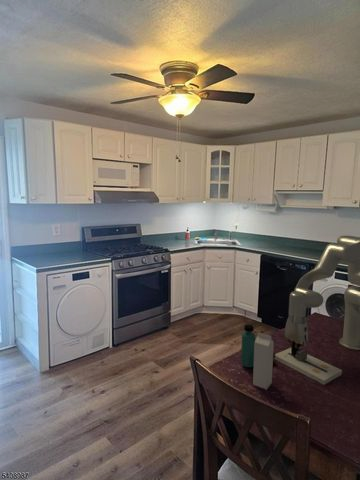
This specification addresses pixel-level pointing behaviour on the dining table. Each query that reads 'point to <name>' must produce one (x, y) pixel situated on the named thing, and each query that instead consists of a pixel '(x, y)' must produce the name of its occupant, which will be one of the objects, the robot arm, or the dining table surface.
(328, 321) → the dining table surface
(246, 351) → the beverage bottle
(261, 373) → the milk
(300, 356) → the fader
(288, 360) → the slider board
